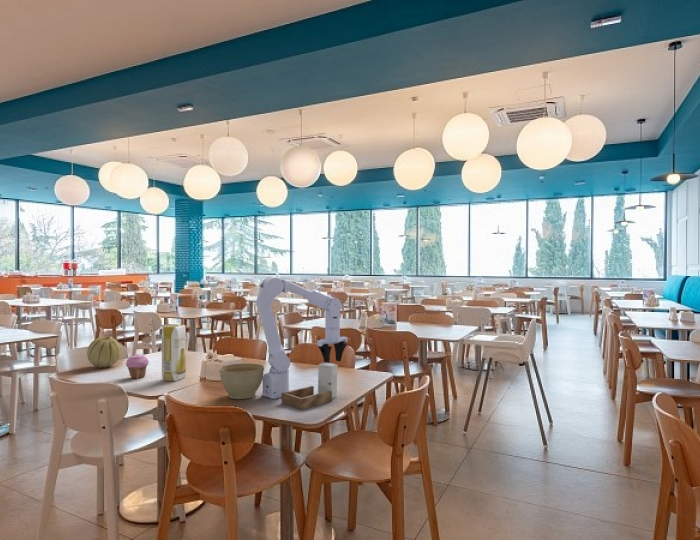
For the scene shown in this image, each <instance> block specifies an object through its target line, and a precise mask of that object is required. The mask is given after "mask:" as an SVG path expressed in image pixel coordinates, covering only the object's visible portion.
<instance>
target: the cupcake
mask: <svg viewBox="0 0 700 540" xmlns="http://www.w3.org/2000/svg"><path fill="white" fill-rule="evenodd" d="M149 363H150V361H149V359H148V358H147V357H146V356H145V355H143V354H134V355H130V356H129V357H128V358H127V359H126V363H125V367H127V369H128V372H129V373H128V374H129V376H130V377H132V378H131V379H140V377H141V378H144V377H145V376H146V372H147V366H148V365H149Z"/></svg>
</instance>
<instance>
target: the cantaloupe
mask: <svg viewBox="0 0 700 540" xmlns="http://www.w3.org/2000/svg"><path fill="white" fill-rule="evenodd" d="M121 352H122V347H121V344H120V343H119V342H118V340H117V339H115V338H114V337H111V336H110V335H108V336H100V337H97V338H95V339H94V340H93V341H91V342H90V343H89V345H88V347H87V350H86V356H87V360H88V362H89V363H90V364H91V365H93V367H96V368H102V367H104V368H108V367H112V366H114V365H115V364H117V362H118V361H119V360H120V357H121Z"/></svg>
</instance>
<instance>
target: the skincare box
mask: <svg viewBox="0 0 700 540" xmlns="http://www.w3.org/2000/svg"><path fill="white" fill-rule="evenodd" d="M317 374H318V377H317V380H318V382H317V383H318V384H317V394H319V393H323V392H327V391H332V399H334V398H336V397H337V395H338V363H337V364H336V363H332V362H329V363H325V362H324V361H323V362H321V363H319V364H318V372H317Z"/></svg>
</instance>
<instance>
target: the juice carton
mask: <svg viewBox="0 0 700 540" xmlns="http://www.w3.org/2000/svg"><path fill="white" fill-rule="evenodd" d="M186 331H187V330H186V324H181V323H180V322H174V323H173V324H171V325H167V326H162V327H161V377H162V378H161V380H162V381H163V382H164V381H166V382H168V381H169V382H178V381H180V380H182V379H184V378H186V372H187V363H186V362H187V361H186V360H187V359H186V358H187V357H186V354H187V351H186V349H187V348H186V346H187V345H186V344H187V343H186V342H187V341H186V339H187V338H186V336H187V335H186Z"/></svg>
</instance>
